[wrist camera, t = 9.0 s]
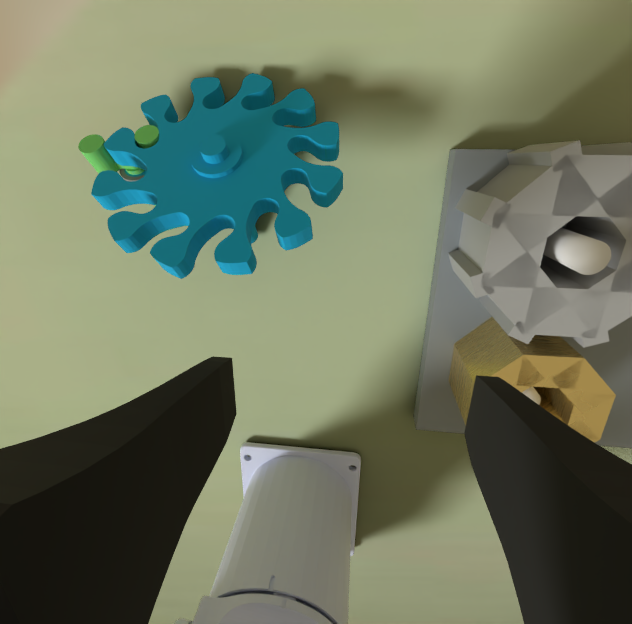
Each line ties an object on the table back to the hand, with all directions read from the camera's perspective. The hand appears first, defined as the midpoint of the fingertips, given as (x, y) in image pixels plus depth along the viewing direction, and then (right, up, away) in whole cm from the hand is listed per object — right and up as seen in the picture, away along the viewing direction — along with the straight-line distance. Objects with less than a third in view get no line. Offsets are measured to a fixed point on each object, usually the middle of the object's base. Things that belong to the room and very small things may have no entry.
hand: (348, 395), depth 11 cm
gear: (-5, +10, +8) cm, 13 cm away
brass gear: (+9, 0, +8) cm, 12 cm away
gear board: (+13, +3, +8) cm, 15 cm away
